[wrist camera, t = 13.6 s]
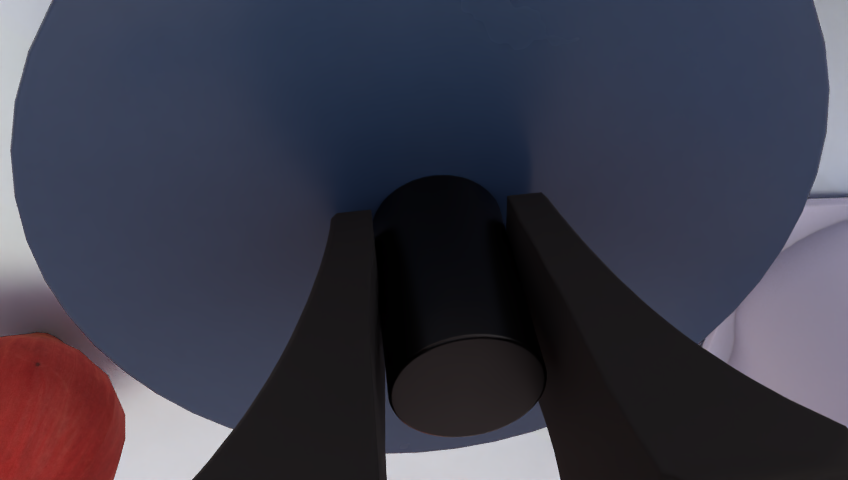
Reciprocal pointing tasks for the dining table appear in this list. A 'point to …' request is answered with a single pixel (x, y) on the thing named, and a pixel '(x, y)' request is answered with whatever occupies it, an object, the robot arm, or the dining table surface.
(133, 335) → the lid
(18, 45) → the dining table surface
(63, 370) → the onion
